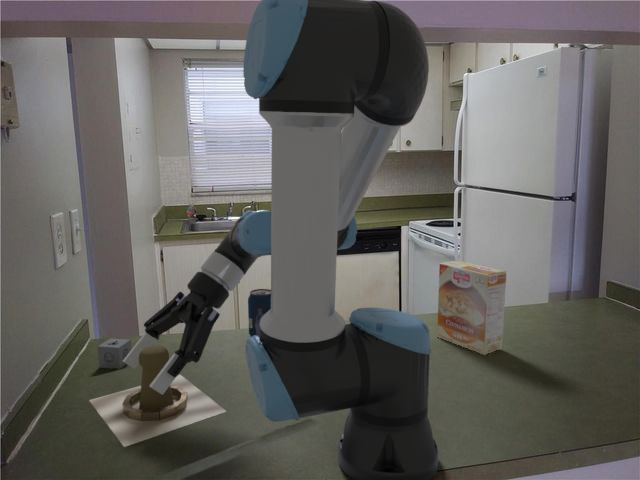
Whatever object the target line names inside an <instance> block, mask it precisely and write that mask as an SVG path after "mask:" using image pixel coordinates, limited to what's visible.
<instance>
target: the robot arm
mask: <svg viewBox="0 0 640 480" xmlns="http://www.w3.org/2000/svg"><path fill="white" fill-rule="evenodd" d="M249 24H250V25H249V27H248V30H247V31H248V32H247V35H246V41H245V48H244V56H243V69H242V71H243V78H244V80H243V84H244V85H243V86H244V90H245V92H246V94H247V95H248V96H249V97H250V98H253V99H254V100H258V113H259V115H260V116H261V117H262V119H263V120H265V121H266V123H267V124H268V125H269V126H270V129H271V172H270V173H271V177H270V178H271V184H270V185H271V187H270V188H271V190H270V191H271V192H270V194H271V200H270V201H271V202H270V203H271V206H270V207H271V210H267V209H260V210H256V211H255V210H246V211H245V212H244V213H243V214H242V215H241V217H239V218H238V219H237V220H236V222H235V223H234V225H233V226H232V227H231V229H230V230H229V231H228V233H226V235H225V236H224V238H223V239H222V241H220V243H219V244H218V246H217V247H216V248H215V249H214V251H212V253H210V255H209V256H208V257H207V259H206V260H205V261H204V262H203V264H202V265H201V267H200V270H201V271H197V272H196V273H195V274H194V275H193V277H192V278H191V279H190V280H189V282H188V283H187V289H188V290H189V293H188V294H187V295H186V294H184V293H183V292H182V291H178V293H177V294H176V295H175V296H174V297H173V299H171V300H169V302H168V303H166V304H165V305H164V306H162V308H160V309H159V310H158V311H157V312H155V314H154V315H152V316H151V317H150V318H149V319H147V320H146V321H145V322H144V323H143V327H144V333H143V334H142V335H141V337H140V338H139V340H138V341H137V342H136V344H135V345H134V346H133V347H131V351H130V352H129V353H128V355H127V356H126V357H125V358H124V360H123V362H125V363H126V365H127V366H129V367H131V368H132V369H134V370H135V369H136V368H137V367H138V366H139V365H140V363H139V354H140V352H141V351H142V350H143V349H144V348H146V347H150V346H155V344H156V343H157V342H158V340H160V336H161V335H162V334H164V333H166V332H167V331H169V330H170V329H172V328H173V327H175V326H177V325H179V324H185V326H184V330H183V333H182V338H181V339H180V340H181V341H180V344H179V348H178V349H177V350H175V351H174V353H173V354H172V356H170V357H169V360H168V362H167V363H166V365H165V366H164V367H163V368H162V370H161V371H160V372H159V374H158V375H157V376H156V378H155V379H154V380H153V382H152V383H151V384H150V387H151V388H152V389H154V390H156V391H157V392H159V393H160V394H162V395H163V394H164V393H165V391H166V390H167V389H168V387H169V386H170V384H171V383H172V382H173V380H174V379H175V378H176V377H177V376H178V375H180V373H181V372H182V371H183V369H184V368H185V367H186V365H187V364H188V363H192V362H193V363H195V364H196V363H198V362H199V361H200V360H201V357H202V355H203V352H204V350H205V348H206V345H207V342H208V340H209V337H210V335H211V332H212V329H213V327H214V325H215V324H216V322H217V321H218V319H219V317H220V315H221V314H220V313H219V312H218V311H217V310H216V309H221V307H222V306H223V304H225V302H226V300H228V298H229V297H230V293H229V292H232V291H234V289H235V288H236V286H238V284H240V282H241V280H242V279H243V277H244V276H245V275H246V274H247V272H248V271H249V269H251V267H252V265H254V263H255V262H256V260H258V258H260V257H265V256H270V290H271V309H270V310H269V311H268V312H267V313H266V314H265V315H263V316H262V318H261V319H260V333H259V336H257V335H254V336H252V337H251V336H250V337H248V338H247V340H246V341H245V342H246V345H245V354H246V355H245V356H246V363H247V368H248V373H249V377H250V381H251V386H252V389H253V393H254V395H255V399H256V401H257V404H258V407H259V409H260V411H261V412H262V414H263V416H264V417H265V418H266V419H267V420H269V421H272V422H283V421H284V422H285V421H291V420H295V421H299V420H301V419H302V418H308V417H313V416H318V415H323V414H328V413H334V412H337V411H343V410H347V409H349V411H348V415H347V418H346V420H345V423H344V428H343V431H342V433H341V436H340V438H339V440H338V445H337V446H338V447H337V448H338V449H337V451H338V455H337V456H338V457H337V458H338V459H337V461H338V464H339V466H340V469H341V470H342V471H343V472H344V473H345V475H347V476H348V477H349V478H350V479H352V480H431V479H433V478H434V476H435V475H436V474H437V472H438V467H439V448H438V444H437V442H436V440H435V438H434V436H433V430H432V427H431V422H430V419H429V413H428V412H429V387H430V385H429V384H430V381H429V379H430V358H431V357H430V355H431V354H432V349H431V337H430V329H429V327H428V325H427V324H426V322H425V321H423V320H422V319H420V318H419V317H417V316H415V315H413V314H410V313H407V312H404V311H400V310H396V309H390V308H385V307H384V308H383V307H360V308H359V307H358V308H357V309H354V310H353V311H351V313H350V316H349V318H348V321H349V323H346V322H345V319H344V317H343V316H342V315H341V314H340V313H339V312H338V311H337V310H336V285H337V283H336V282H337V280H336V279H337V260H338V259H337V257H338V256H337V255H338V254H337V253H338V250H339V251H340V250H346V249H349V248H352V246H353V245H354V244H355V242H356V240H357V233H358V224H357V223H358V222H357V220H356V217H355V214H356V212H357V210H358V208H359V207H360V204H361V202H362V201H363V199H364V196H365V195H366V193H367V192H368V189H369V187H370V186H371V184H372V182H373V180H374V178H375V176H376V173H377V172H378V170H379V168H380V167H381V165H382V163H383V161H384V159H385V157H386V156H387V155H386V154H387V153H388V151H389V150H390V148H391V145H392V143H393V142H394V140H395V139H396V136H397V134H398V132H399V131H400V129H401V128H402V127H405V126H407V125H408V124H410V123H411V122H412V121H413V119H414V117H415V116H416V114H417V112H418V111H419V109H420V106H422V105H421V104H422V102H423V99H424V97H425V95H426V91H427V90H426V89H427V86H428V82H429V72H430V71H429V70H430V69H429V68H430V67H429V66H430V65H429V57H428V50H427V49H428V48H427V45H426V42H425V39H424V38H423V35H422V33H421V31H420V29H419V27H418V26H417V24H416V23H415V22H414V20H412V17H410V16H409V15H408V14H407V13H405V12H404V11H403V10H402V9H401V8H399V7H397V6H395V5H393V4H390V3H388V2H384V1H380V0H379V1H378V0H369V1H368V0H260V1H259V2H258V4H257V6H256V7H255V9H254V12H253V14H252V17H251V20H250V23H249Z"/></svg>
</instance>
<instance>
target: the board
mask: <svg viewBox="0 0 640 480" xmlns="http://www.w3.org/2000/svg"><path fill="white" fill-rule="evenodd" d="M170 385H175V386H180V387H182V388H183V389H184V390H186V391H187V392H188V402H187V406H186V408H185V409H183V410H182V411H181V412H179V413H178V414H177V415H174V416H171V417H168V418H165V419H162V420H156V421H137V420H133V419H129V418H128V417H127V416H126V415H125V414H124V413H123V405H122V404H123V402H124V400H125V397H126V396H128V395H129V394H131V393H132V392H134V391H136V390H138V389H141V385H138V386H135V387H131V388H128V389H124V390H120V391H117V392H112V393H110V394H106V395H103V396H99V397H95V398H92V399H89V400H88V401H89V403H91V404H90V405H92V407H93V408H94V409H95V410H96V411H97V413H98V415H99V417H101V419H102V420H103V421H104V422H105V424H106V425H107V427H109V430H110V431H111V432H112V433H113V434H114V436H115V438H116V439H117V440H118V441H119V442H120V444H121V445H122V446H123V448H126V447H129V446H132V445H135V444H138V443H141V442H144V441H147V440H149V439H152V438H155V437H158V436H161V435H163V434H166V433H169V432H173V431H176V430H178V429H181V428H184V427H186V426H187V427H188V426H190V425H192V424H197V423H199V422H201V421H204V420H207V419H210V418H212V417H216V416H218V415H221V414H224V413H227V412H228V411H227V410H226V409H224V408H223V407H222V406H220V405H219V404H218V403H216V402H215V400H214V399H212V398H211V397H209V396H208V395H207V394H205V393H204V392H203V391H202V390H201V389H199V388H198V387H196V386H195V385H194V384H193V383H192V382H191V381H189V380H188V379H187V378H186V377H184V376H182V374H178V376H177V377H176V378H175V379H174V380H173V382H172V383H171V384H170ZM172 397H173V402H174V403H176V402H177V401H179V400H180V398H179V397H177V396H174V395H172ZM139 405H140V400H138V401H136V402H135V403H133V404H132V405H131V406H132V407H133V408H135V409H139Z"/></svg>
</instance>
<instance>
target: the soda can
mask: <svg viewBox="0 0 640 480" xmlns="http://www.w3.org/2000/svg"><path fill="white" fill-rule="evenodd" d="M247 308H248V311H247V312H248V313H247V314H248V315H247V316H248V335H249V336H250V337H252V336H254V335H257V336H259V333H260V319H261V318H262V316H263V315H265V314H266V313H267V312H268V311H269V310H270V309H271V289H268V288H258V289H253V290H251V291H250V292H249V296H248V299H247Z"/></svg>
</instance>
